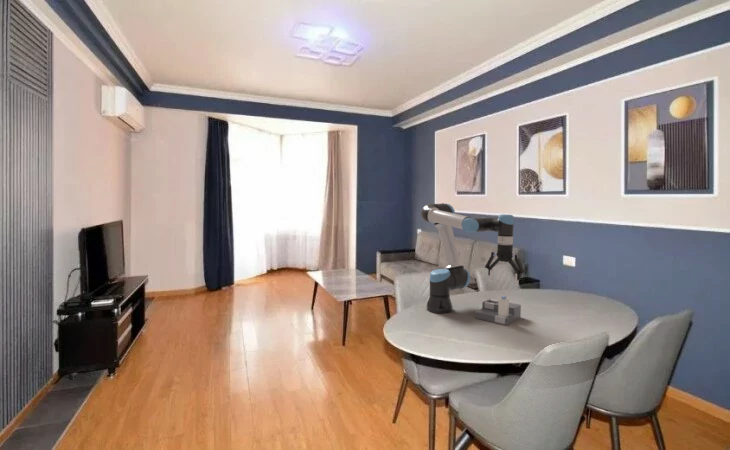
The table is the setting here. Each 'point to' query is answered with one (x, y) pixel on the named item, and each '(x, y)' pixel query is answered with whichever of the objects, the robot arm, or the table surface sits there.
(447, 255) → the robot arm
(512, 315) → the grey socket holder
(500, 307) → the cream long block
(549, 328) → the table surface
